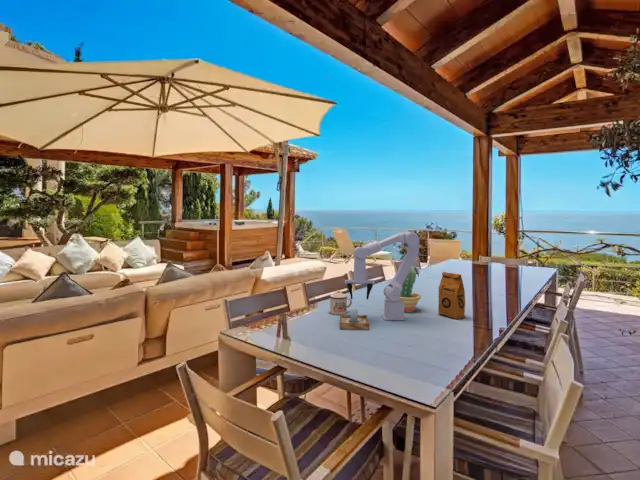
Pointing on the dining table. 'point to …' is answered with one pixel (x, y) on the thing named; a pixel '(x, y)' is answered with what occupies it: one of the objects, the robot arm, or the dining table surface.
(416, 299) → the potted cactus
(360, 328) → the tray box
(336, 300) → the beige mug
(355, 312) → the peg
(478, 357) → the dining table surface
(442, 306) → the coffee package
